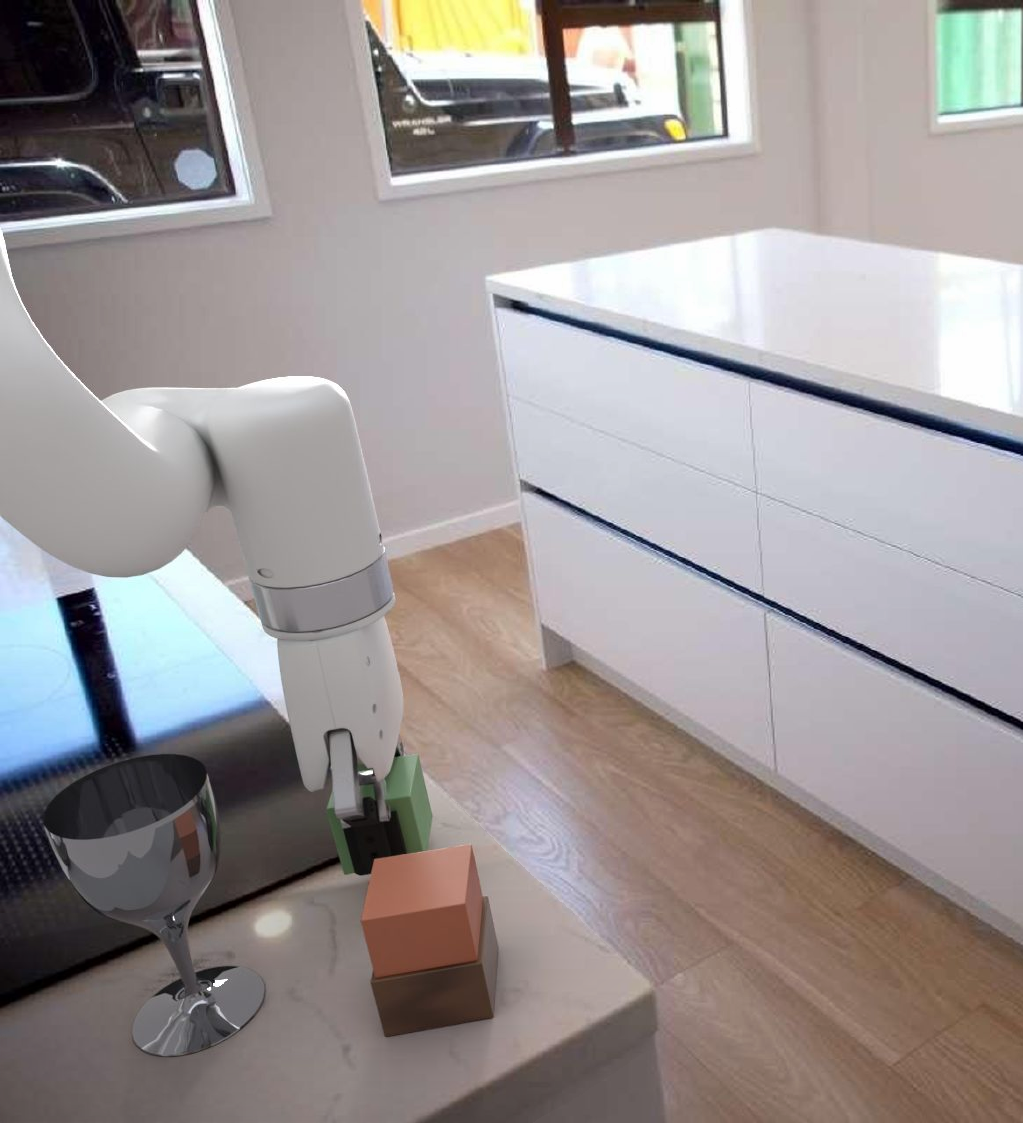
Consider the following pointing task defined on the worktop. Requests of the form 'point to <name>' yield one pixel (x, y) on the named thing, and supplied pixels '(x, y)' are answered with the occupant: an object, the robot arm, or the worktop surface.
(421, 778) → the green block
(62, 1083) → the worktop surface
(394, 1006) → the walnut block
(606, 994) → the worktop surface
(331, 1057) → the worktop surface
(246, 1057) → the worktop surface
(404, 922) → the terracotta block
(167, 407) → the robot arm
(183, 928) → the wine glass
